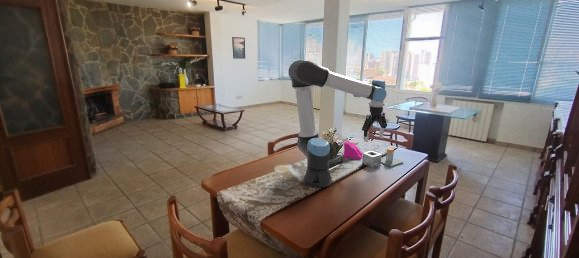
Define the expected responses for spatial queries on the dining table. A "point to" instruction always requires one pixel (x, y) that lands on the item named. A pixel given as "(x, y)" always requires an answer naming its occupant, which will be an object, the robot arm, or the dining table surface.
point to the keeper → (390, 159)
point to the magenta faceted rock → (351, 151)
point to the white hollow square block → (371, 158)
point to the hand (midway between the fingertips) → (373, 139)
